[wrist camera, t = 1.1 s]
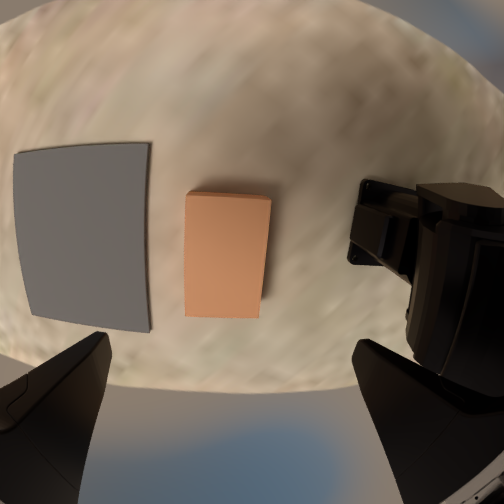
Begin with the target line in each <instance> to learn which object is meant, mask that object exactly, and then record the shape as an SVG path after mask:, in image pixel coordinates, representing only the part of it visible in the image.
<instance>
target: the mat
mask: <svg viewBox="0 0 504 504" xmlns="http://www.w3.org/2000/svg"><path fill="white" fill-rule="evenodd" d="M148 155H149V144H106V145H88V146H75V147H64V148H55V149H46V150H38V151H31V152H25V153H18V154H14V163H13V199H14V217H15V228H16V238H17V245H18V253H19V259H20V265H21V270H22V276H23V280H24V285H25V290H26V294H27V298H28V302H29V306H30V309H31V313H32V315H35V316H40V317H45V318H49V319H54V320H60V321H65V322H70V323H76V324H82V325H88V326H95V327H101V328H109V329H116V330H124V331H132V332H142V333H150V321H149V310H148V296H147V279H146V248H145V216H146V185H147V168H148Z"/></svg>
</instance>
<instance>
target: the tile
mask: <svg viewBox="0 0 504 504" xmlns="http://www.w3.org/2000/svg"><path fill="white" fill-rule="evenodd" d="M271 201H272V200H271V199H269V198H268V197H266V196H263V195H249V194H234V193H216V192H194V191H189V192H188V194H187V195H186V204H185V240H184V288H185V316H191V317H219V318H259V311H260V302H261V293H262V285H263V276H264V267H265V258H266V248H267V239H268V230H269V220H270V211H271Z"/></svg>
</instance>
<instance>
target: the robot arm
mask: <svg viewBox="0 0 504 504" xmlns="http://www.w3.org/2000/svg"><path fill="white" fill-rule="evenodd" d="M367 183H368V184H369V187H368V189H366V184H367ZM350 240H351V241H350V246H349V251H348V256H347V259H348V261H349V262H350V263H351V264H353V265H370V266H385V267H386V268H388V269H389V270H391V271H392V272H393V273H395V274H396V275H398V276H399V277H400V278H402V279H403V280H404V281H406V282H407V283H408V284H410V285H411V286H412V288H411V294H410V301H409V307H408V309H407V310H406V316H405V318H406V320H407V326H406V339H407V342H408V344H409V346H410V347H411V349H412V351H413V352H414V355H413V358H414V359H415V360H416V361H417V362H418V363H419V364H420V365H419V364H417V363H415V362H413V361H411V360H409V359H407V358H405V357H403V356H401V355H399V354H397V353H395V352H393V351H391V350H389V349H388V348H386V347H384V346H382V345H380V344H378V343H376V342H374V341H372V340H370V339H360V340H359V341H358V342H357V344H356V347H355V350H354V352H353V355H352V364H353V367H354V370H355V374H356V377H357V380H358V384H359V387H360V390H361V393H362V396H363V398H364V401H365V403H366V405H367V408H368V410H369V412H370V415H371V418H372V420H373V423H374V425H375V427H376V430H377V432H378V435H379V437H380V440H381V442H382V445H383V448H384V450H385V453H386V456H387V458H388V461H389V464H390V466H391V469H392V472H393V474H394V477H395V479H396V483H397V486H398V489H399V491H400V495H401V497H402V500H403V503H404V504H441V503H442V502H444V501H445V502H446V503H447V504H504V198H503V197H501V196H500V195H499V194H498V193H496V192H495V191H494V190H492V189H491V188H489V187H485V186H480V185H474V184H468V183H435V184H417V185H416V191H415V190H411V189H407V188H403V187H399V186H395V185H391V184H386V183H382V182H378V181H373V180H368V179H364V180H362V182H361V184H360V190H359V196H358V203H357V206H356V207H355V212H354V217H353V223H352V228H351V234H350ZM355 255H356V257H355V259H354V260H352V258H353V256H355ZM111 359H112V350H111V345H110V341H109V336H108V334H107V333H106V332H99V331H96V332H94V333H93V334H91V335H89V336H88V337H86V338H84V339H83V340H81V341H79V342H78V343H76V344H74V345H73V346H71V347H69V348H68V349H66V350H64V351H63V352H61V353H59V354H58V355H56V356H54V357H53V358H51V359H49V360H48V361H46V362H44V363H43V364H41V365H40V366H38V367H36V368H35V369H33V370H31V371H30V372H28V374H25V375H23V376H21V377H20V378H18V379H16V380H15V381H13V382H11V383H10V384H8V385H6V386H4V387H2V388H0V504H77V503H78V497H79V491H80V485H81V480H82V475H83V470H84V466H85V461H86V457H87V453H88V449H89V445H90V441H91V437H92V433H93V430H94V426H95V422H96V419H97V416H98V412H99V409H100V406H101V402H102V399H103V396H104V392H105V388H106V382H107V377H108V373H109V368H110V363H111ZM421 365H422V366H423V367H422V366H421ZM436 373H437V374H436ZM438 374H440V375H438Z"/></svg>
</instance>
